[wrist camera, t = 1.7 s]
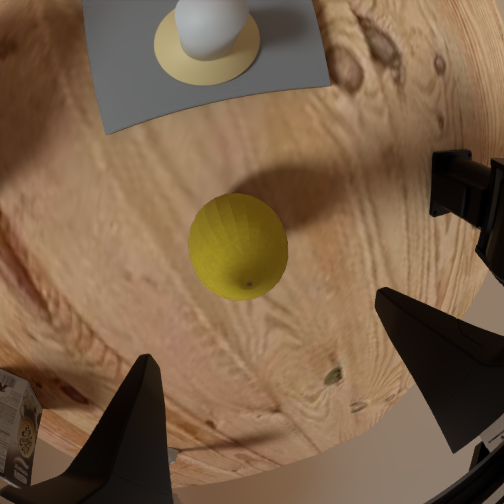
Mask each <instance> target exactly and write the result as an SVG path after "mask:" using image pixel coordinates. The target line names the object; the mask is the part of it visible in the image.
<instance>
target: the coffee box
mask: <svg viewBox="0 0 504 504" xmlns="http://www.w3.org/2000/svg"><path fill="white" fill-rule="evenodd" d="M42 411H43V409H42V407H41V405H40V403H39V401H38V399H37V398H36V396H35V394H34V392H33V389H32V387H31V385H30V383H29V381H28V380H25V379H23V378H20V377H18V376H16V375H13V374H11V373H9V372H6V371H4V370H2V369H0V478H1V479H2V480H4V481H6V482H7V483H9V484H11V485H13V486H15V487H17V488H26V487H29V486H30V484H31V474H32V466H33V457H34V450H35V445H36V439H37V434H38V429H39V424H40V420H41V415H42Z"/></svg>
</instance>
